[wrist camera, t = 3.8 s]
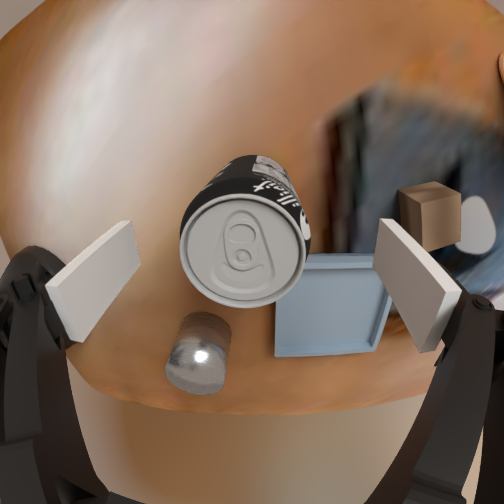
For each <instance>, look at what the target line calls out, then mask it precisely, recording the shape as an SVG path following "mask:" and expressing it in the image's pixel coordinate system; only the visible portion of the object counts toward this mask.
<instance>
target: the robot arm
mask: <svg viewBox="0 0 504 504" xmlns="http://www.w3.org/2000/svg"><path fill="white" fill-rule="evenodd" d="M140 266H141V262H140V258H139V254H138V249H137V245H136V240H135V235H134V230H133V225H132V221H120V222H118V223H117V224H116V225H115V226H113V227H112V228H111V229H109V230H108V231H107V232H106V233H104V234H103V235H102V236H101V237H99V238H98V239H97V240H96V241H94V242H93V243H92V244H91V245H90V246H88V247H87V248H86V249H85V250H84V251H82V252H81V253H80V254H79V255H78V256H76V257H75V258H74V259H73V260H72V261H71V262H70V263H68V264H67V265H65V264H64V263H63V262H62V261H61V260H60V259H58V258H57V257H56V256H55V255H54V254H52V253H51V252H49V251H48V250H46V249H44V248H41V247H38V246H28V247H26V248H24V249H23V250H21V251H20V252H19V253H17V254H16V255H15V256H14V257H13V258H12V260H11V261H10V263H9V265H8V266H7V268H6V270H5V272H4V273H3V275H2V277H1V279H0V504H144V503H141V502H138V501H135V500H132V499H129V498H126V497H124V496H121V495H118V494H115V493H113V492H110V493H109V491H108V490H107V488H106V487H105V485H104V484H103V483H102V482H101V481H100V480H99V478H98V477H97V475H96V473H95V471H94V469H93V466H92V463H91V460H90V458H89V455H88V452H87V449H86V446H85V442H84V439H83V436H82V432H81V429H80V425H79V421H78V417H77V413H76V409H75V405H74V400H73V395H72V391H71V385H70V380H69V373H68V367H67V360H66V352H65V350H66V349H68V348H69V347H71V346H72V345H73V344H75V343H77V342H82V343H83V342H84V341H85V339H86V338H87V336H88V335H89V333H90V332H91V330H92V329H93V328H94V326H95V325H96V323H97V322H98V321H99V319H100V318H101V316H102V315H103V314H104V312H105V311H106V310H107V308H108V307H109V306H110V304H111V303H112V302H113V300H114V299H115V298H116V296H117V295H118V294H119V292H120V291H121V290H122V288H123V287H124V286H125V285H126V283H127V282H128V281H129V279H130V278H131V277H132V276H133V274H134V273H135V272H136V271H137V269H138V268H139V267H140ZM372 266H373V268H374V270H375V271H376V273H377V275H378V276H379V278H380V280H381V281H382V283H383V285H384V287H385V288H386V290H387V292H388V294H389V295H390V297H391V299H392V301H393V302H394V304H395V306H396V308H397V310H398V312H399V313H400V315H401V317H402V319H403V321H404V323H405V325H406V327H407V329H408V331H409V333H410V334H411V336H412V338H413V340H414V342H415V345H416V347H417V349H418V351H419V353H423V352H429V351H434V350H436V348H437V346H438V344H439V342H440V340H441V339H442V340H443V342H444V344H445V347H444V349H443V350H442V352H441V354H440V356H439V358H438V359H437V361H436V363H435V365H434V366H437V368H436V370H435V373H434V376H433V379H432V381H431V384H430V387H429V389H428V392H427V394H426V397H425V399H424V401H423V404H422V406H421V409H420V411H419V413H418V415H417V417H416V419H415V421H414V424H413V426H412V428H411V430H410V432H409V434H408V436H407V438H406V439H405V441H404V443H403V445H402V447H401V449H400V450H399V452H398V454H397V456H396V457H395V459H394V461H393V462H392V464H391V466H390V467H389V469H388V470H387V472H386V474H385V475H384V477H383V478H382V480H381V481H380V483H379V484H378V486H377V487H376V488H375V490H374V492H373V493H372V494H371V495H370V497H369V498H368V500H367V501H366V502H365V503H364V504H466V499H465V498H464V497H463V496H462V495H461V491H462V488H463V485H464V483H465V481H466V478H467V475H468V473H469V470H470V467H471V465H472V462H473V459H474V456H475V453H476V449H477V446H478V442H479V439H480V436H481V432H482V428H483V445H482V457H481V465H480V472H479V479H478V485H477V490H476V495H475V500H474V504H504V311H502V310H495V308H494V306H493V304H492V303H491V302H490V301H489V300H488V299H487V298H485V297H483V296H480V295H477V294H471V295H470V294H469V293H468V292H467V291H466V289H465V288H464V287H463V286H462V285H461V284H460V283H459V281H458V280H456V278H455V277H454V276H453V275H451V273H450V272H449V270H448V269H447V268H446V267H445V266H443V265H441V264H440V263H438V262H437V261H435V260H434V259H433V258H432V257H431V256H430V255H429V254H428V253H427V252H426V251H425V250H424V249H423V248H422V247H421V246H420V245H419V244H418V243H417V242H416V241H415V240H414V239H413V238H412V237H411V236H410V235H409V234H408V233H407V232H406V231H405V230H404V229H403V228H402V227H401V226H400V225H398V224H397V223H396V222H395V221H394V220H393V219H380V221H379V228H378V235H377V241H376V247H375V253H374V259H373V264H372Z"/></svg>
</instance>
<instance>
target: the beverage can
mask: <svg viewBox="0 0 504 504" xmlns="http://www.w3.org/2000/svg"><path fill="white" fill-rule="evenodd" d="M310 242H311V236H310V228H309V224H308V221H307V218H306V216H305V213H304V211H303V208H302V206H301V203H300V201H299V199H298V196H297V194H296V191H295V189H294V187H293V184H292V182H291V180H290V178H289V176H288V174H287V172H286V171H285V170H284V169H283V168H282V167H281V166H280V165H279V164H278V163H277V162H275V161H273V160H272V159H269V158H267V157H264V156H259V155H247V156H242V157H239V158H237V159H234V160H233V161H231V162H229V163H228V164H227V165H226V166H225V167H224V168H223V169H222V170H221V171H220V172H219V173H218V174H217V175H216V176H215V177H214V178H213V179H212V180H211V181H210V182H209V183H208V184H207V185H206V186H205V187H204V188H203V189H202V191H201V192H200V193H199V194H198V195H197V196H196V197H195V198H194V199H193V200H192V202H191V203H190V205H189V206H188V208H187V209H186V211H185V214H184V216H183V219H182V223H181V228H180V249H179V250H180V259H181V263H182V267H183V269H184V272H185V274H186V275H187V277H188V279H189V280H190V282H191V283H192V284H193V285H194V287H195V288H196V289H197V290H198V291H200V292H201V293H202V294H203V295H205V296H206V297H208V298H209V299H211V300H213V301H215V302H217V303H220V304H222V305H225V306H229V307H234V308H256V307H261V306H265V305H268V304H271V303H273V302H275V301H277V300H279V299H280V298H282V297H283V296H285V295H286V294H287V293H288V292H289V291H290V290H291V289H292V288H293V287H294V286H295V285H296V283H297V282H298V280H299V278H300V276H301V274H302V272H303V269H304V265H305V262H306V260H307V257H308V254H309V250H310Z"/></svg>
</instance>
